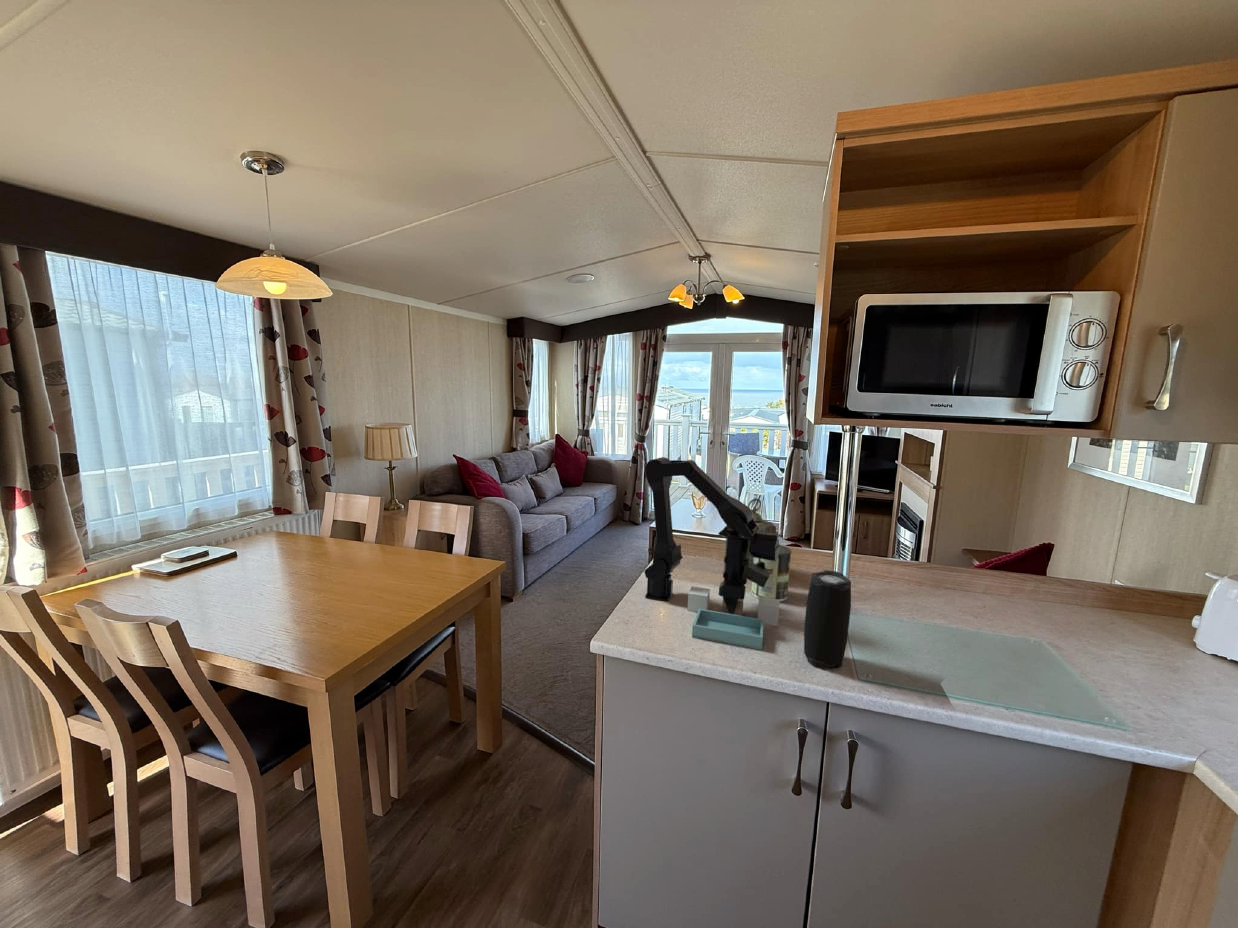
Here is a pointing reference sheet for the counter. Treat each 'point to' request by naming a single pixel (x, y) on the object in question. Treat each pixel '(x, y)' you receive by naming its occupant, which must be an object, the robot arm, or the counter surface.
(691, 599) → the grey block left
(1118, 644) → the counter surface
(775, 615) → the grey block right
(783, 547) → the coffee can
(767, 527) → the tabletop clock
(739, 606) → the walnut block
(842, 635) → the portable speaker
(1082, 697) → the counter surface
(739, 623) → the tray
